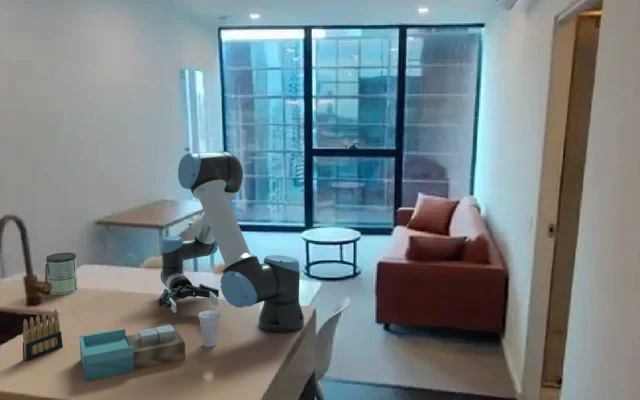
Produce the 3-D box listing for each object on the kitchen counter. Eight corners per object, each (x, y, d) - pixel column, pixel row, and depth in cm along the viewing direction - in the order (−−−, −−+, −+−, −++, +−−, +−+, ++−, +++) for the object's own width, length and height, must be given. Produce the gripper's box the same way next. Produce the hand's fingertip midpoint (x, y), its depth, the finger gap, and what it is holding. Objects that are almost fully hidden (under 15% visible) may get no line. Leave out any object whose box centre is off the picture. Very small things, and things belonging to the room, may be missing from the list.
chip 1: (154, 335, 146) (154, 327, 146) (158, 341, 143) (158, 333, 142) (138, 338, 144) (138, 330, 144) (141, 344, 140) (141, 336, 140)
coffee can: (43, 291, 196) (41, 256, 194) (69, 284, 204) (67, 251, 202) (56, 297, 190) (54, 261, 188) (83, 290, 198) (81, 255, 196)
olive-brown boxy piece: (174, 342, 154) (174, 326, 153) (185, 358, 143) (184, 342, 143) (126, 352, 147) (125, 335, 146) (133, 369, 137) (132, 352, 136)
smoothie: (217, 349, 150) (217, 304, 148) (196, 348, 150) (195, 303, 148) (222, 339, 156) (221, 296, 154) (201, 339, 156) (200, 296, 154)
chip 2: (171, 332, 149) (171, 324, 148) (175, 338, 145) (175, 330, 145) (155, 335, 147) (155, 327, 146) (159, 341, 143) (159, 333, 142)
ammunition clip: (26, 361, 140) (23, 320, 138) (22, 359, 141) (19, 319, 139) (63, 347, 149) (60, 308, 147) (59, 345, 150) (56, 307, 148)
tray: (125, 350, 147) (124, 328, 146) (134, 371, 136) (133, 346, 135) (80, 359, 142) (79, 336, 140) (85, 381, 130) (83, 356, 129)
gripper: (213, 290, 188) (232, 309, 170) (143, 301, 176) (157, 322, 158) (213, 271, 187) (232, 288, 169) (143, 280, 175) (156, 300, 157)
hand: (196, 305), depth 163 cm, fingers open, 13 cm apart
